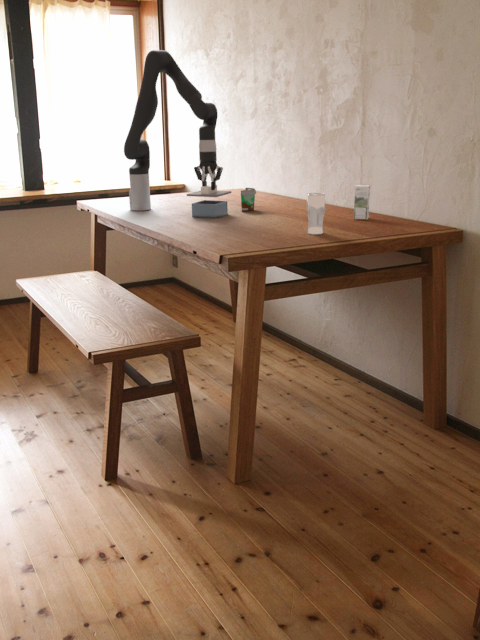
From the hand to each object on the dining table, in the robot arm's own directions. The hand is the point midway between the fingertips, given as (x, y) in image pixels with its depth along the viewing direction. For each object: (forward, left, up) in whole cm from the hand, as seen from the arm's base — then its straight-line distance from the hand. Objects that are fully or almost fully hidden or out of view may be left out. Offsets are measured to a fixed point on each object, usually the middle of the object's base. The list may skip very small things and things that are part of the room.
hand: (209, 189), depth 288 cm
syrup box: (+67, +12, -12) cm, 69 cm away
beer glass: (+59, -26, -12) cm, 66 cm away
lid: (0, 0, -2) cm, 2 cm away
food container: (+11, +20, -12) cm, 26 cm away
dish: (0, 0, -12) cm, 12 cm away
